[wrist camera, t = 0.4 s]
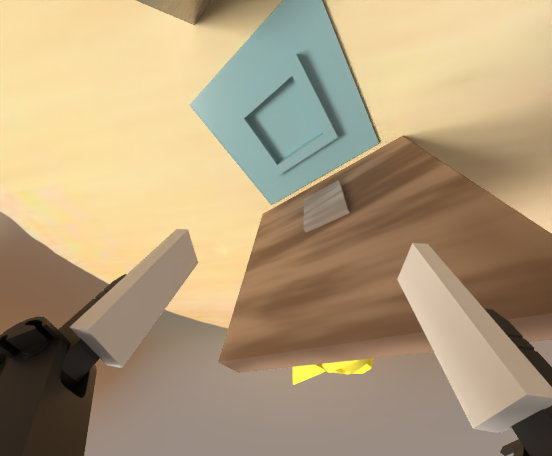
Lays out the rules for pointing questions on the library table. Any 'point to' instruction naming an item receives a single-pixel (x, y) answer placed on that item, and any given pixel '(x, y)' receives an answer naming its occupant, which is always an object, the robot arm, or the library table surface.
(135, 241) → the library table surface
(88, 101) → the library table surface
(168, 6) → the bar
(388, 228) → the door panel
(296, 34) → the socket
